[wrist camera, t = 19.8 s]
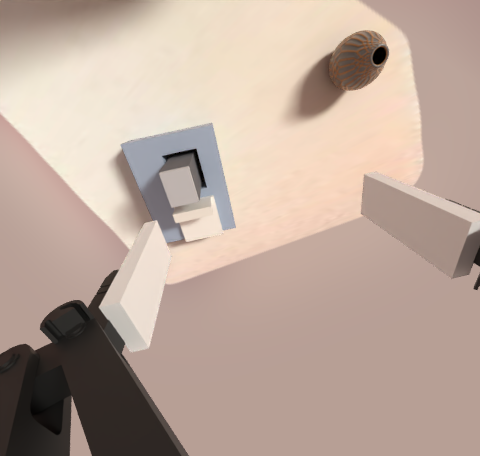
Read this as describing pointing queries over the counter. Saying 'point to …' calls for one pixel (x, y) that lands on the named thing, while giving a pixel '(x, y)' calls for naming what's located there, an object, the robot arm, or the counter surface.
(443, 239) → the robot arm
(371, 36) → the vase
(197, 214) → the shutter
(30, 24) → the counter surface
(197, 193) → the plug
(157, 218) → the socket board
